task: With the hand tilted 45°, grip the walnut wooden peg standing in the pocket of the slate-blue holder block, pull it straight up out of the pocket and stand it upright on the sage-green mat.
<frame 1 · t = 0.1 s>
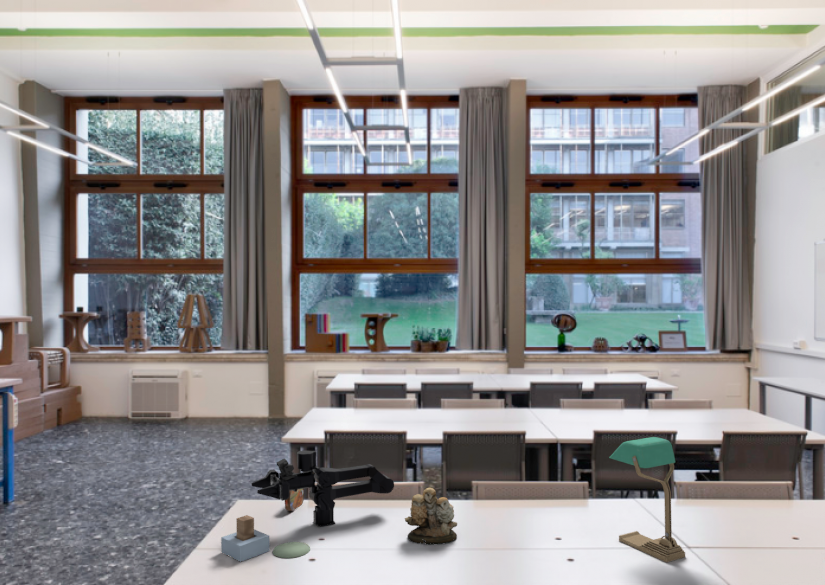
hand: (254, 488, 215), 17 cm above the table, tool horizontal, fingers open, 9 cm apart
slate-blue holder: (245, 551, 201), on the table
owl figurine: (431, 538, 211), on the table
banker's lamp: (649, 548, 201), on the table
tin: (294, 507, 244), on the table
walnut peg: (245, 545, 201), point 2 cm above the table, touching slate-blue holder
sage-green mat: (291, 550, 202), on the table
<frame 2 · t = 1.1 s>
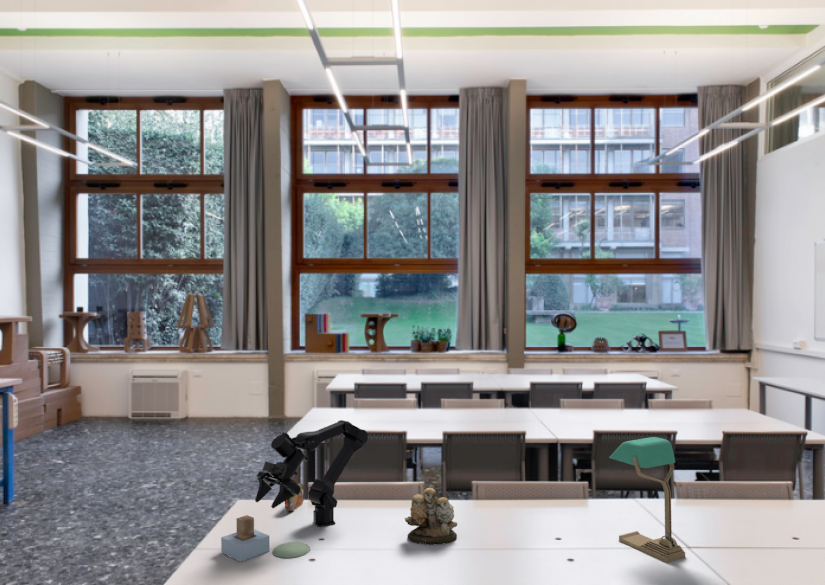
hand: (264, 504, 207), 13 cm above the table, tool tilted 45°, fingers open, 9 cm apart
nothing on the table moved.
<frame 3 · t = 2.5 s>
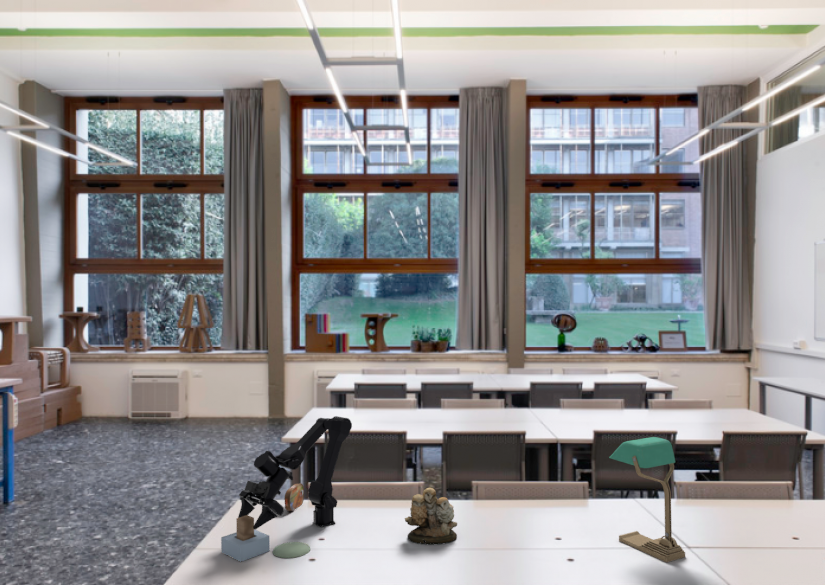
hand: (245, 525, 202), 9 cm above the table, tool tilted 45°, fingers open, 9 cm apart
nothing on the table moved.
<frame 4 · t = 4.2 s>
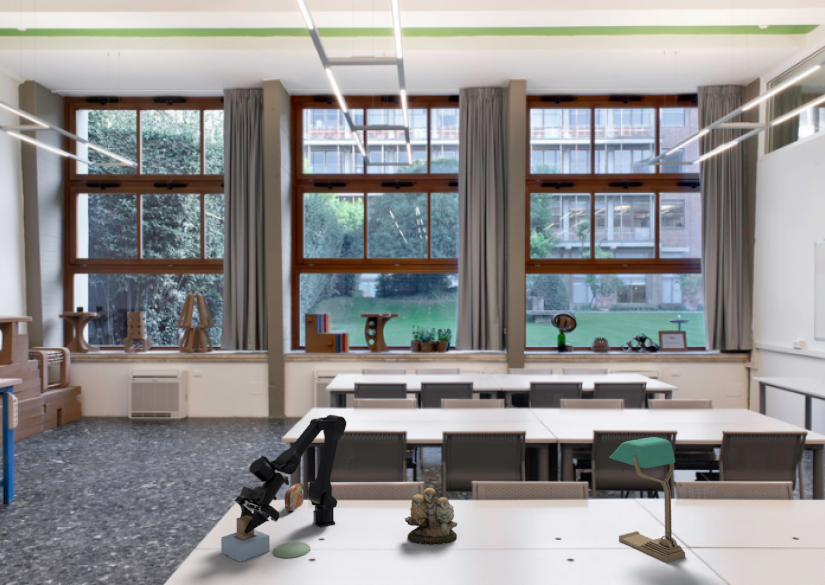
hand: (241, 531, 200), 7 cm above the table, tool tilted 45°, fingers closed on walnut peg, 4 cm apart
walnut peg: (245, 545, 201), point 2 cm above the table, touching gripper, slate-blue holder
everything else where it was.
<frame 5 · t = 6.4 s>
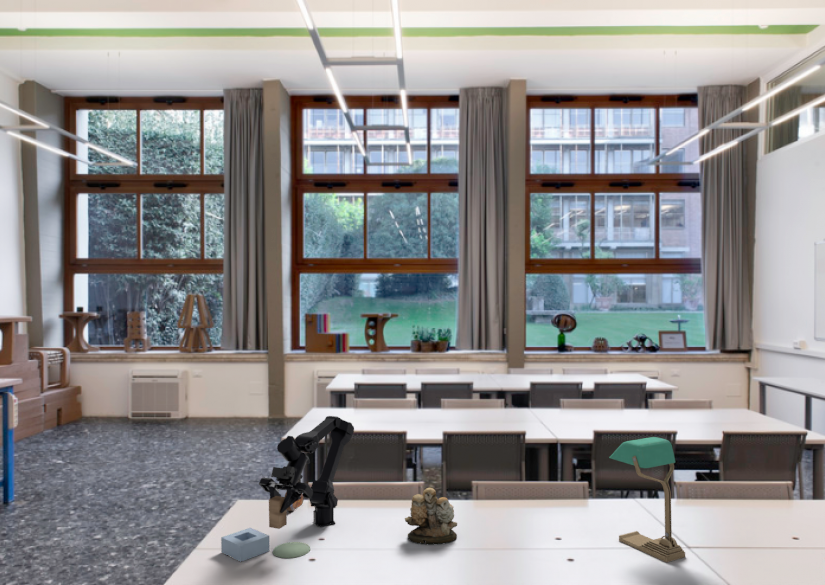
hand: (275, 511, 200), 13 cm above the table, tool tilted 45°, fingers closed on walnut peg, 4 cm apart
walnut peg: (278, 525, 201), point 8 cm above the table, touching gripper
everything else where it was.
when the fingers open (7 cm above the table, at t = 8.7 s): walnut peg drops 2 cm, resting on sage-green mat.
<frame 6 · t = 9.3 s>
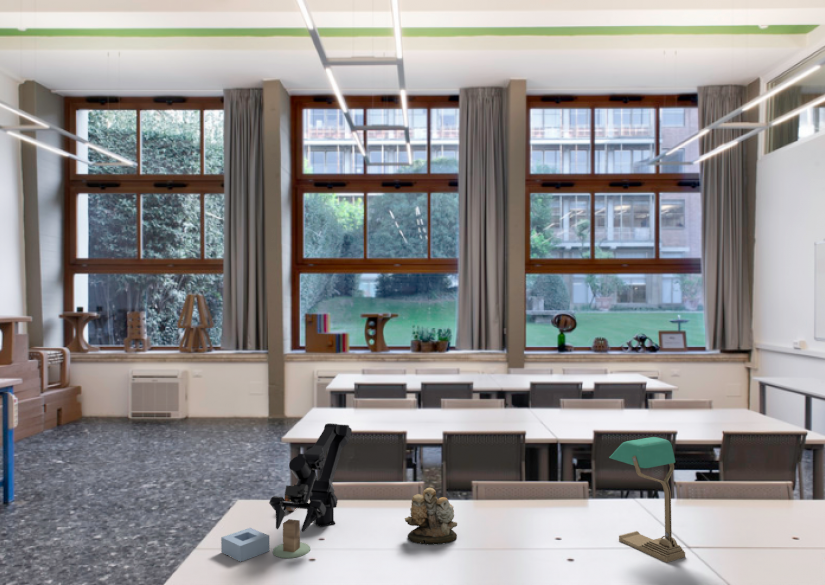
hand: (289, 530, 201), 7 cm above the table, tool tilted 45°, fingers open, 9 cm apart
walnut peg: (291, 549, 202), resting on sage-green mat
everything else where it was.
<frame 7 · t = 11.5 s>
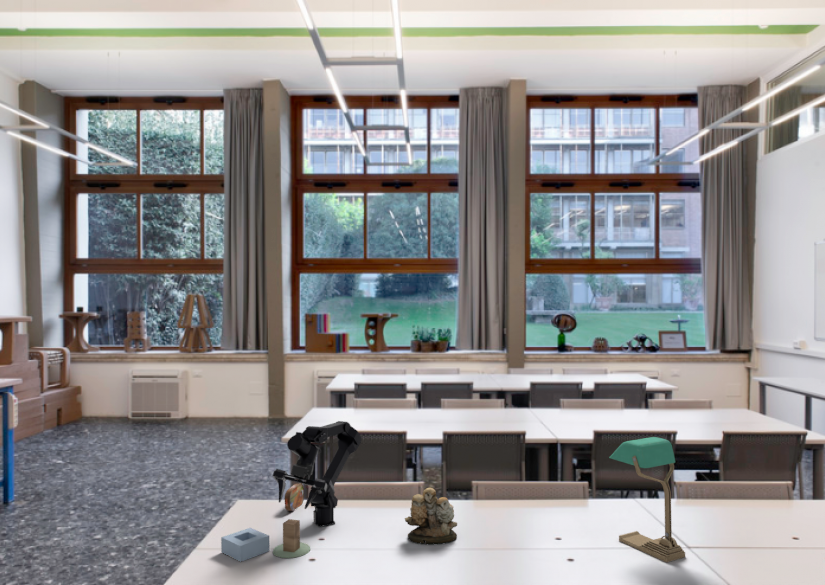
hand: (292, 505, 209), 12 cm above the table, tool tilted 35°, fingers open, 9 cm apart
nothing on the table moved.
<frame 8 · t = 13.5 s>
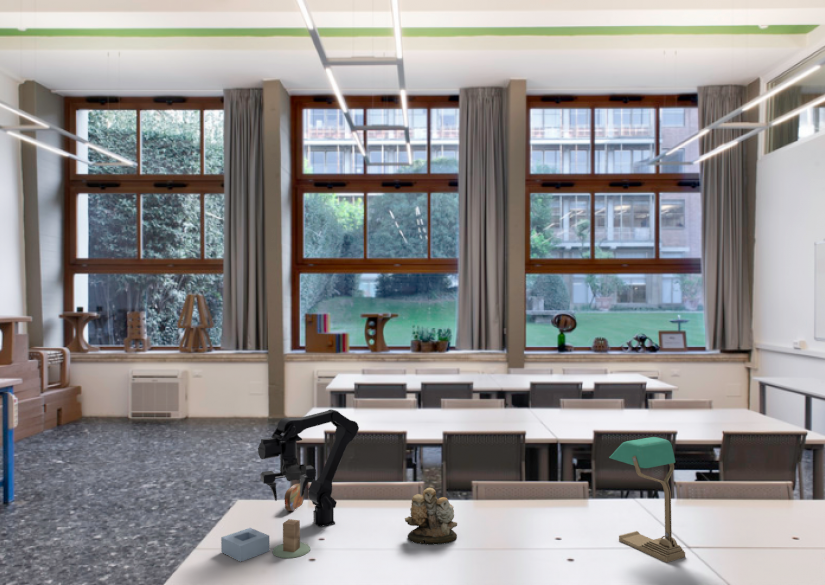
hand: (288, 498, 218), 12 cm above the table, tool pointing down, fingers open, 9 cm apart
nothing on the table moved.
at the end: walnut peg 0.0 cm off-centre on the sage-green mat, point 0.4 cm above the sage-green mat's base; walnut peg tilted 0°; the gripper is holding nothing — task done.
